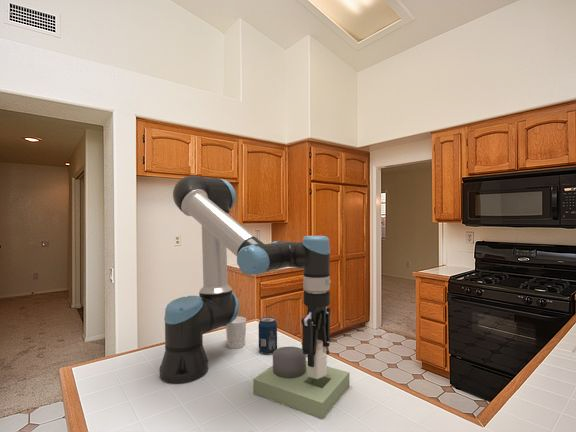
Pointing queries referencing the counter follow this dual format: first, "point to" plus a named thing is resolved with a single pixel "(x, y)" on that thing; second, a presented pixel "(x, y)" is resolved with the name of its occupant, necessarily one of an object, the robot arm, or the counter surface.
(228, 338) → the white cup
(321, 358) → the pepper shaker
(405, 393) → the counter surface
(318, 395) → the green knob base
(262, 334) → the soda can
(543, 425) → the counter surface
